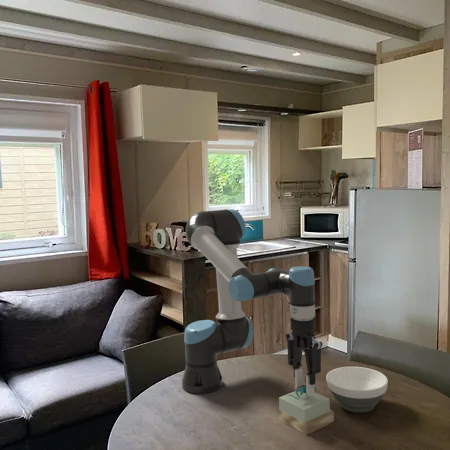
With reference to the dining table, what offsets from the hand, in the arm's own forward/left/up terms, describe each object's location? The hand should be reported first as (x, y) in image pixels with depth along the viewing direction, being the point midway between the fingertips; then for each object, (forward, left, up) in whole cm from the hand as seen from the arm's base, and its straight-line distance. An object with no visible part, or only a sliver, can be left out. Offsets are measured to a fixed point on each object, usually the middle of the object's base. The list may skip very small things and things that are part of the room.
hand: (304, 391), depth 150 cm
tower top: (0, 0, -6) cm, 6 cm away
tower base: (0, 0, -10) cm, 10 cm away
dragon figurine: (0, -1, -1) cm, 1 cm away
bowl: (+4, +20, -10) cm, 23 cm away
